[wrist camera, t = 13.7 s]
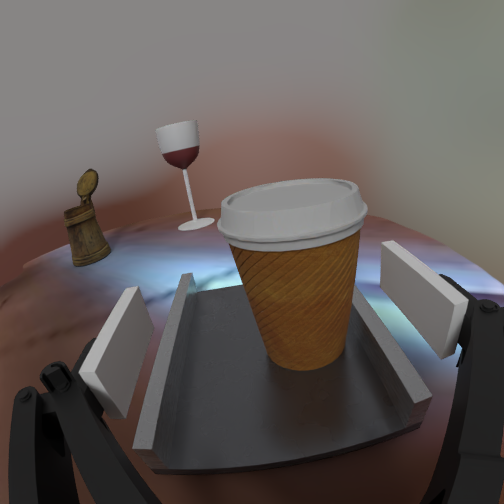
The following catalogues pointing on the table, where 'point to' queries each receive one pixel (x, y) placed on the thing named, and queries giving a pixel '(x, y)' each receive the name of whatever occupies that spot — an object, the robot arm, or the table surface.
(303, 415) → the tray
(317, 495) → the table surface
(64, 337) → the table surface
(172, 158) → the wineglass
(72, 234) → the wooden mug
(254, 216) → the disposable coffee cup
